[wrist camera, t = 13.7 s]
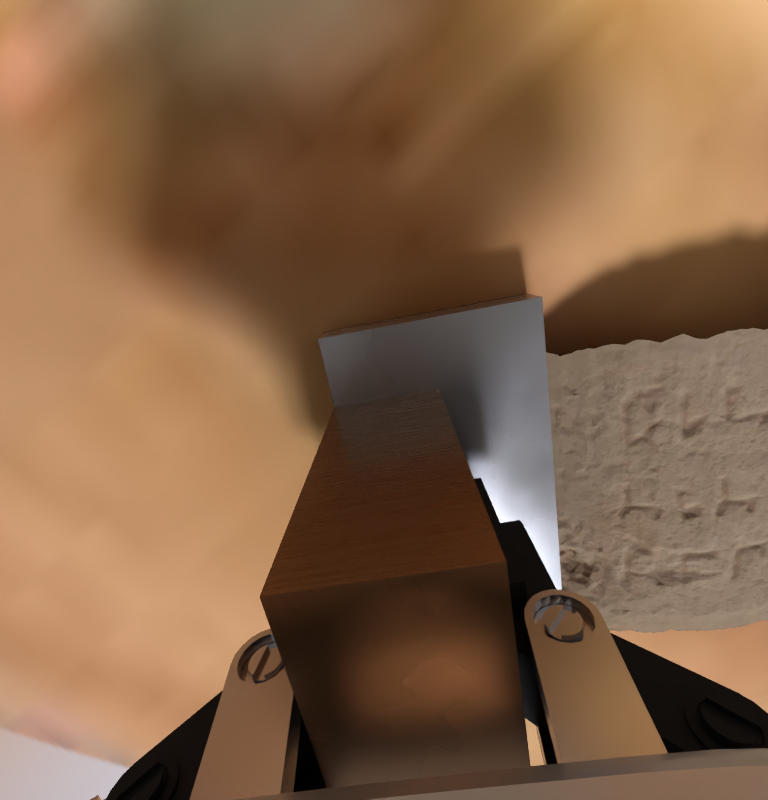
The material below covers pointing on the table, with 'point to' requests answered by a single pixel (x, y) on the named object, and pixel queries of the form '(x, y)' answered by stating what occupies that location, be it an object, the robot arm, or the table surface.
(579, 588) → the clay tablet
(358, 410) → the brown block stand
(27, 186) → the table surface
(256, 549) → the table surface
